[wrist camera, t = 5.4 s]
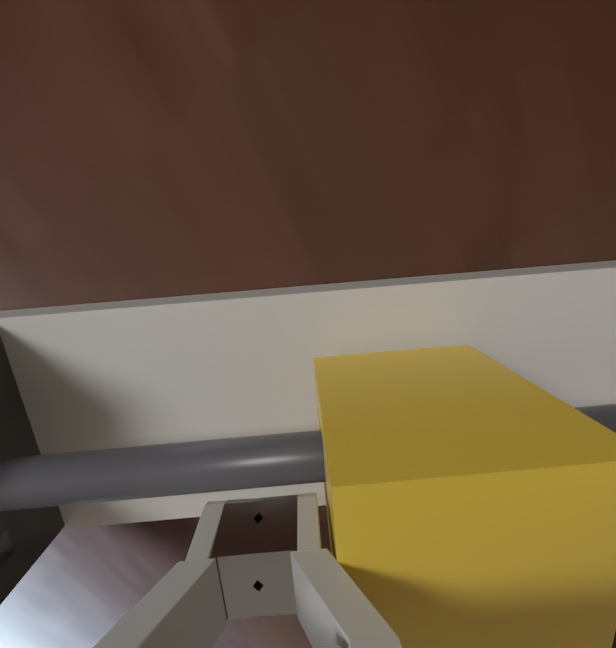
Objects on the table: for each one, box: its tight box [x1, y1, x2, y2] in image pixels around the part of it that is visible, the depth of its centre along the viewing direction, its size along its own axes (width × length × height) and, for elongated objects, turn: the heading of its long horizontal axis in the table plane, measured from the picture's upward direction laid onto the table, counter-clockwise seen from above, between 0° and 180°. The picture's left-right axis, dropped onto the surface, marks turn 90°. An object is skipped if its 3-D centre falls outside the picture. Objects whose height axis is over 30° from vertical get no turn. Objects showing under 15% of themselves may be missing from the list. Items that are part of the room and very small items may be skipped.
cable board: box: [0, 260, 616, 604], centre depth 12 cm, size 10×34×8 cm, turn 94°
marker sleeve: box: [313, 345, 616, 648], centre depth 10 cm, size 5×6×7 cm
